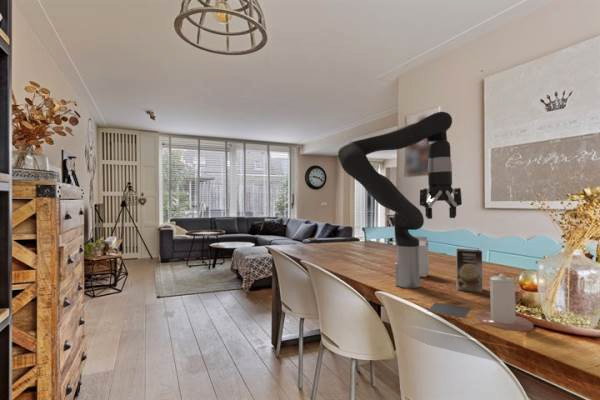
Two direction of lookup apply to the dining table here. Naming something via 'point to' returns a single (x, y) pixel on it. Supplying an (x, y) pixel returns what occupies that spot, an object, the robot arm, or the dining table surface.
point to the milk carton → (423, 256)
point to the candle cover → (502, 299)
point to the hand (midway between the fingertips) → (441, 218)
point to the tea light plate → (518, 326)
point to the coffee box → (469, 270)
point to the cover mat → (449, 310)
